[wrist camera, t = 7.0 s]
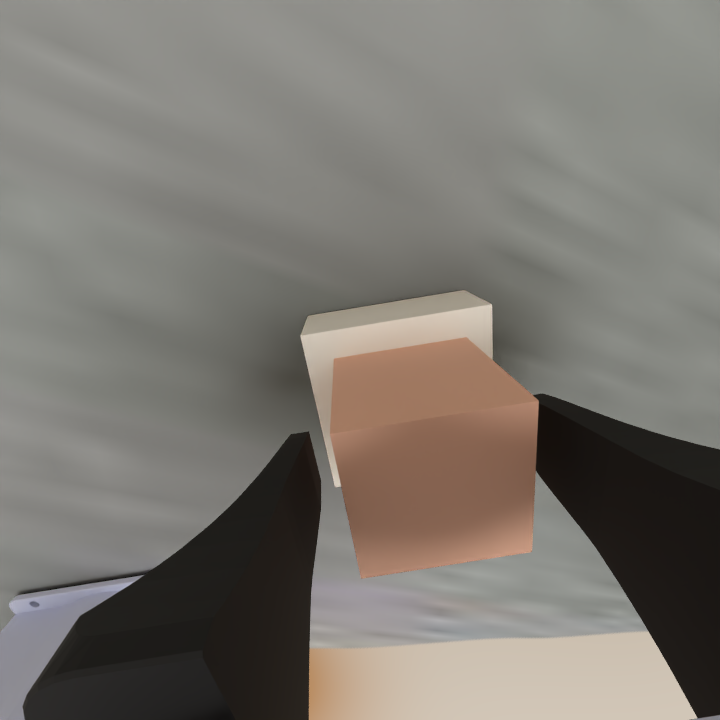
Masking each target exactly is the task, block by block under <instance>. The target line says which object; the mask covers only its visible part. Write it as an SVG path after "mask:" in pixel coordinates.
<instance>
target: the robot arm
mask: <svg viewBox="0 0 720 720" xmlns="http://www.w3.org/2000/svg"><path fill="white" fill-rule="evenodd" d="M533 396H534V397H535V398H536V399H537V400H539V408H538V430H537V451H536V471H537V473H538V474H539V476H540V477H541V478H542V480H543V481H544V482H545V484H546V485H547V486H548V487H549V489H550V490H551V491H552V492H553V494H554V495H555V496H556V498H557V499H558V500H559V501H560V503H561V504H562V505H563V506H564V507H565V509H566V510H567V511H568V512H569V514H570V515H571V516H572V517H573V519H574V520H575V521H576V522H577V524H578V525H579V526H580V527H581V529H582V530H583V531H584V532H585V534H586V535H587V536H588V538H589V539H590V540H591V542H592V543H593V545H594V546H595V547H596V549H597V550H598V552H599V553H600V555H601V556H602V558H603V559H604V561H605V562H606V564H607V565H608V567H609V568H610V570H611V571H612V573H613V575H614V576H615V578H616V579H617V581H618V582H619V584H620V585H621V587H622V589H623V590H624V592H625V593H626V595H627V597H628V598H629V600H630V601H631V603H632V605H633V606H634V608H635V610H636V611H637V613H638V614H639V616H640V618H641V619H642V621H643V623H644V624H645V626H646V628H647V629H648V631H649V633H650V634H651V636H652V638H653V640H654V641H655V643H656V645H657V646H658V648H659V650H660V651H661V653H662V655H663V657H664V658H665V660H666V662H667V664H668V665H669V667H670V669H671V671H672V672H673V674H674V676H675V678H676V680H677V681H678V683H679V685H680V687H681V689H682V690H683V692H684V694H685V696H686V698H687V699H688V701H689V703H690V705H691V707H692V709H693V711H694V712H695V714H696V716H697V719H691V720H720V450H719V449H715V448H710V447H706V446H702V445H698V444H694V443H691V442H687V441H683V440H679V439H675V438H672V437H668V436H665V435H661V434H658V433H654V432H651V431H648V430H645V429H642V428H639V427H636V426H633V425H630V424H627V423H624V422H621V421H618V420H615V419H612V418H610V417H607V416H604V415H601V414H599V413H596V412H593V411H591V410H588V409H585V408H583V407H580V406H577V405H575V404H572V403H569V402H567V401H564V400H561V399H558V398H555V397H552V396H549V395H546V394H537V395H533ZM320 512H321V479H320V475H319V471H318V467H317V463H316V459H315V455H314V450H313V446H312V442H311V438H310V434H309V432H303V433H297V434H291V435H290V436H289V437H288V439H287V440H286V441H285V442H284V444H283V445H282V446H281V448H280V449H279V450H278V452H277V453H276V454H275V455H274V457H273V458H272V459H271V461H270V462H269V463H268V464H267V466H266V467H265V468H264V469H263V471H262V472H261V473H260V474H259V475H258V477H257V478H256V479H255V480H254V481H253V482H252V483H251V484H250V486H249V487H248V488H247V489H246V490H245V491H244V492H243V493H242V495H241V496H240V497H239V498H238V499H237V500H236V501H235V502H234V503H233V504H232V505H231V506H230V507H229V508H228V509H227V510H226V511H225V512H223V513H222V514H221V515H220V516H219V517H218V518H217V519H216V520H215V521H214V522H213V523H212V524H210V525H209V526H208V527H207V528H206V529H204V530H203V531H202V532H201V533H200V534H198V535H197V536H196V537H195V538H193V539H192V540H191V541H190V542H189V543H187V544H186V545H185V546H184V547H183V548H181V549H180V550H179V551H177V552H176V553H175V554H173V555H172V556H171V557H169V558H168V559H167V560H165V561H164V562H162V563H161V564H160V565H158V566H157V567H155V568H154V569H153V570H151V571H150V572H148V573H147V574H145V575H141V576H135V577H129V578H123V579H116V580H110V581H104V582H97V583H91V584H85V585H79V586H72V587H66V588H60V589H54V590H47V591H41V592H35V593H28V594H22V595H17V596H15V597H14V598H13V599H12V600H11V601H10V603H9V607H10V609H11V610H12V611H13V613H14V614H15V615H14V616H13V618H12V619H11V620H10V621H9V622H8V624H7V625H6V626H5V627H4V628H3V630H2V631H1V632H0V720H309V712H308V711H309V710H308V709H309V641H310V607H311V587H312V576H313V568H314V560H315V552H316V545H317V537H318V529H319V521H320Z"/></svg>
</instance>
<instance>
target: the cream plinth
mask: <svg viewBox="0 0 720 720" xmlns="http://www.w3.org/2000/svg"><path fill="white" fill-rule="evenodd" d="M464 337H467V338H468V339H469V340H470V341H471V342H473V343H474V344H475V345H476V346H477V347H478V348H479V349H481V350H482V351H483V352H484V353H485V354H486V355H487V356H489V357H490V358H491V359H492V360H493V341H492V304H490V303H488V302H487V301H485V300H483V299H481V298H479V297H477V296H475V295H473V294H471V293H469V292H467V291H465V290H461V291H455V292H449V293H443V294H437V295H431V296H425V297H419V298H413V299H406V300H400V301H394V302H388V303H382V304H376V305H370V306H364V307H358V308H352V309H346V310H340V311H334V312H327V313H321V314H315V315H309V316H308V317H307V319H306V322H305V325H304V327H303V330H302V333H301V341H302V345H303V349H304V354H305V358H306V362H307V367H308V371H309V375H310V380H311V384H312V389H313V393H314V397H315V402H316V406H317V410H318V415H319V419H320V423H321V428H322V432H323V437H324V441H325V445H326V450H327V454H328V458H329V463H330V467H331V471H332V476H333V480H334V485H335V487H340V486H341V483H340V479H339V474H338V469H337V465H336V460H335V456H334V451H333V446H332V442H331V437H330V421H331V403H332V384H333V365H334V358H340V357H347V356H353V355H359V354H365V353H371V352H378V351H384V350H390V349H396V348H402V347H409V346H415V345H421V344H427V343H433V342H440V341H446V340H452V339H458V338H464Z"/></svg>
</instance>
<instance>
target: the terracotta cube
mask: <svg viewBox="0 0 720 720" xmlns="http://www.w3.org/2000/svg"><path fill="white" fill-rule="evenodd" d="M538 408H539V400H537V399H536V398H535V397H534V396H533V395H532V394H531V393H530V392H528V391H527V390H526V389H525V388H524V387H523V386H522V385H520V384H519V383H518V382H517V381H516V380H515V379H514V378H512V377H511V376H510V375H509V374H508V373H507V372H506V371H504V370H503V369H502V368H501V367H500V366H499V365H498V364H497V363H495V362H494V361H493V360H492V359H491V358H490V357H489V356H487V355H486V354H485V353H484V352H483V351H482V350H481V349H479V348H478V347H477V346H476V345H475V344H474V343H473V342H471V341H470V340H469V339H468V338H467V337H464V338H458V339H452V340H446V341H440V342H433V343H427V344H421V345H415V346H409V347H402V348H396V349H390V350H384V351H378V352H371V353H365V354H359V355H353V356H347V357H340V358H334V365H333V384H332V403H331V421H330V437H331V442H332V446H333V451H334V456H335V460H336V465H337V469H338V474H339V479H340V483H341V488H342V492H343V497H344V502H345V506H346V511H347V515H348V520H349V525H350V529H351V534H352V538H353V543H354V548H355V552H356V557H357V561H358V566H359V570H360V575H361V579H362V578H369V577H375V576H381V575H388V574H394V573H400V572H407V571H413V570H420V569H426V568H432V567H439V566H445V565H452V564H458V563H464V562H471V561H477V560H483V559H490V558H496V557H503V556H509V555H515V554H522V553H528V552H532V538H533V516H534V495H535V473H536V451H537V430H538Z"/></svg>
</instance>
